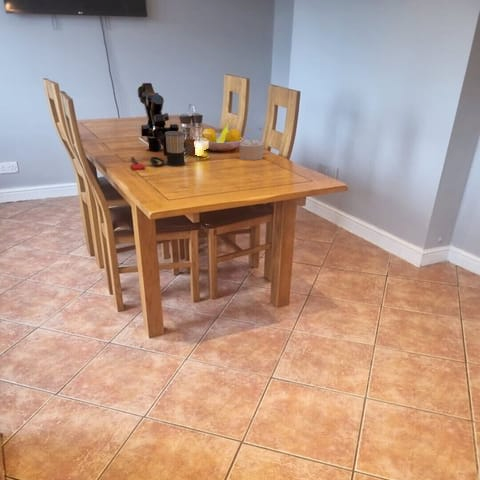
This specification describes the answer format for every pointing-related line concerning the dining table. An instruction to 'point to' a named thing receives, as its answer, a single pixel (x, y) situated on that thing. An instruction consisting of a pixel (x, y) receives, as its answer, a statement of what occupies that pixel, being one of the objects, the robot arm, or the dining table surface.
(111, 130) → the dining table surface
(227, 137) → the fruit bowl
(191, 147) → the tin
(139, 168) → the spatula
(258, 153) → the lumpy-topped squat cylinder
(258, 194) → the dining table surface
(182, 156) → the milk frother
